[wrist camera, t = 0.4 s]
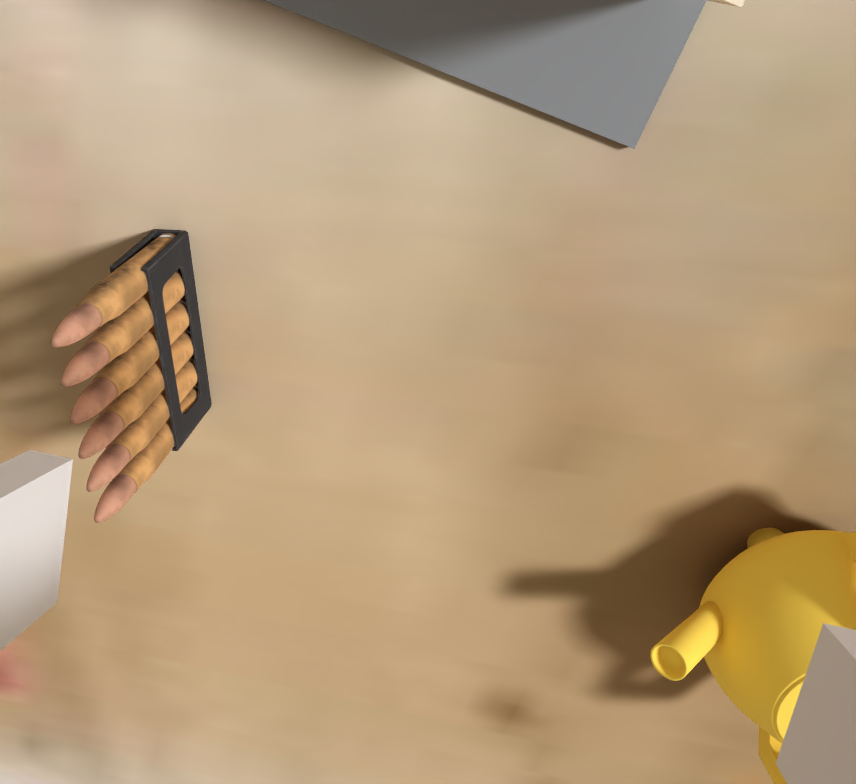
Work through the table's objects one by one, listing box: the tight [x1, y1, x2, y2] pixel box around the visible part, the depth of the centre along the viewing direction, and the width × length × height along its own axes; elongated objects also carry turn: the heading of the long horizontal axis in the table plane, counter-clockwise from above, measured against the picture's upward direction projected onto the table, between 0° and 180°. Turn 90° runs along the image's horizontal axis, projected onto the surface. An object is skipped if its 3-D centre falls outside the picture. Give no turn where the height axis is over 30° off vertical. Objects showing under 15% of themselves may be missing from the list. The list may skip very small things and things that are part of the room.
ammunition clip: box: [51, 229, 211, 523], centre depth 38 cm, size 11×2×12 cm, turn 179°
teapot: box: [650, 527, 856, 784], centre depth 42 cm, size 20×18×11 cm
